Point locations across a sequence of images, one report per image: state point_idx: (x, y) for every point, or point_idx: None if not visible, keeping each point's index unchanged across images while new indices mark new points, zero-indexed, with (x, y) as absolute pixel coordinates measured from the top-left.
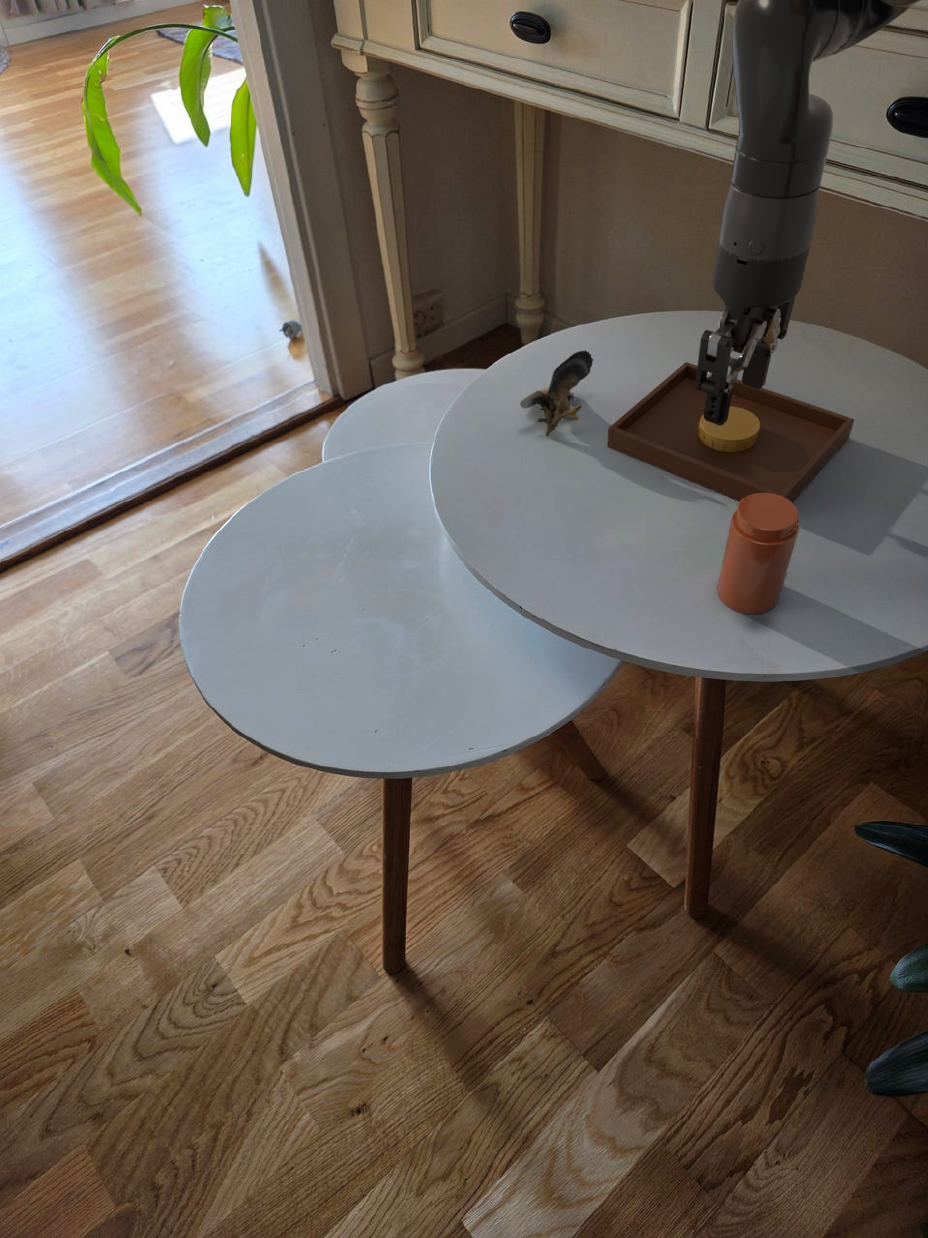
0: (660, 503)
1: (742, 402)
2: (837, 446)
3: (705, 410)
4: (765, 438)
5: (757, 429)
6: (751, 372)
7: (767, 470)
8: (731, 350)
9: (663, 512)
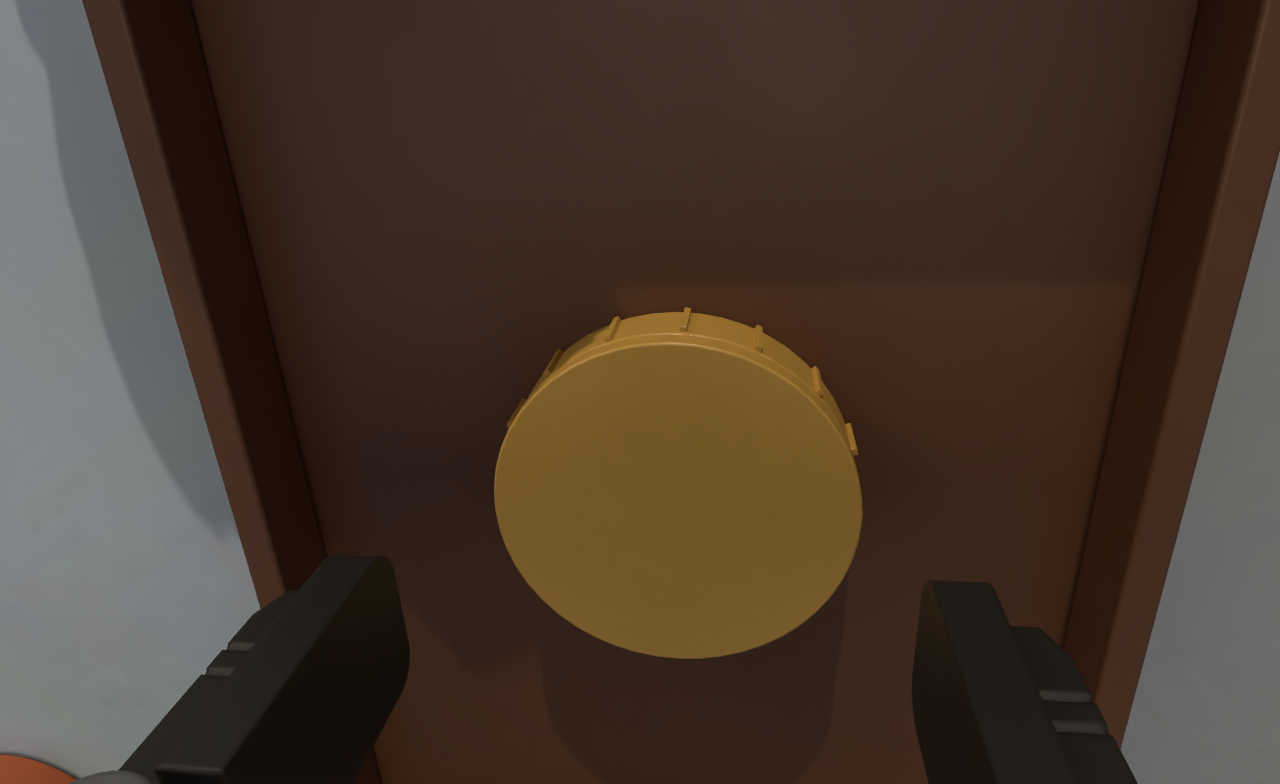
0: (87, 424)
1: (1058, 390)
2: None
3: (234, 641)
4: None
5: (704, 654)
6: (941, 717)
7: (545, 713)
8: None
9: (61, 463)
